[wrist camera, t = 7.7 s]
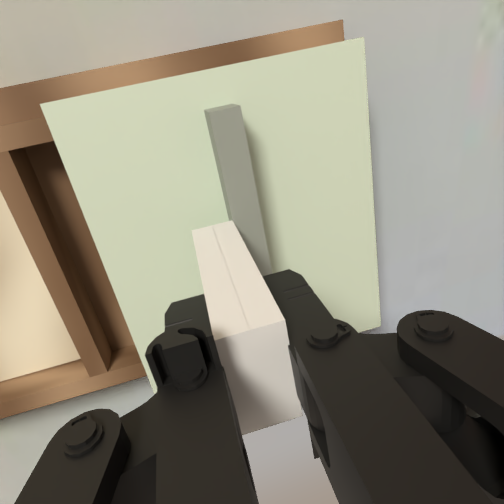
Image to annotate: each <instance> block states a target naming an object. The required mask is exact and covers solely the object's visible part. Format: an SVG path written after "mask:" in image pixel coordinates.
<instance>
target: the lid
mask: <svg viewBox="0 0 504 504" xmlns="http://www.w3.org/2000/svg"><path fill="white" fill-rule="evenodd" d="M40 106H41V109H42V111H43V114H44V116H45V119H46V121H47V124H48V126H49V129H50V131H51V134H52V136H53V139H54V141H55V144H56V147H57V149H58V152H59V154H60V157H61V159H62V162H63V164H64V167H65V169H66V172H67V174H68V177H69V179H70V182H71V184H72V187H73V189H74V192H75V194H76V197H77V200H78V202H79V205H80V207H81V210H82V212H83V215H84V217H85V220H86V222H87V225H88V227H89V230H90V232H91V235H92V237H93V240H94V242H95V245H96V248H97V250H98V253H99V255H100V258H101V260H102V263H103V265H104V268H105V270H106V273H107V275H108V278H109V280H110V283H111V285H112V288H113V290H114V293H115V295H116V298H117V301H118V303H119V306H120V308H121V311H122V313H123V316H124V318H125V321H126V323H127V326H128V328H129V331H130V333H131V336H132V338H133V341H134V343H135V346H136V348H137V351H138V354H139V356H140V359H141V361H142V364H143V366H144V369H145V371H146V374H147V376H148V379H149V381H150V384H151V386H152V389H153V391H154V394H156V392H157V385H156V383H155V380H154V378H153V375H152V373H151V370H150V367H149V365H148V362H147V360H146V357H145V353H146V350H147V347H148V345H149V344H150V343H151V342H152V341H153V340H154V339H155V338H156V337H157V336H159V335H160V334H162V333H163V332H165V317H164V314H165V313H166V311H167V309H168V308H169V306H170V304H171V303H172V302H176V301H179V300H183V299H187V298H190V297H194V296H198V295H201V294H204V290H203V285H202V280H201V275H200V270H199V265H198V261H197V256H196V251H195V246H194V241H193V236H192V231H191V230H195V229H199V228H203V227H207V226H211V225H215V224H219V223H223V222H227V221H231V220H232V221H233V222H234V224H235V226H236V228H237V230H238V232H239V234H240V235H241V237H242V239H243V241H244V243H245V245H246V247H247V249H248V251H249V252H250V254H251V256H252V258H253V260H254V262H255V264H256V266H257V268H258V270H259V271H260V273H261V275H262V276H266V275H269V274H273V273H277V272H280V271H284V270H288V269H290V270H292V271H294V272H296V273H299V274H301V275H302V276H303V277H304V279H305V280H306V282H307V283H308V285H309V286H310V287H311V288H312V290H313V291H314V293H315V294H316V295H317V296H318V298H319V299H320V300H321V302H322V303H323V304H324V306H325V307H326V308H327V310H328V311H329V312H330V314H331V315H332V317H333V318H334V319H338V320H341V321H344V322H347V323H348V324H350V325H351V326H352V327H353V328H354V329H355V330H356V331H357V332H358V333H359V332H363V331H366V330H369V329H373V328H376V327H379V326H381V318H380V301H379V284H378V267H377V250H376V233H375V216H374V199H373V182H372V164H371V147H370V130H369V113H368V96H367V79H366V62H365V45H364V37H361V38H356V39H351V40H346V41H341V42H337V43H332V44H327V45H322V46H317V47H313V48H308V49H303V50H298V51H293V52H288V53H284V54H279V55H274V56H269V57H264V58H259V59H255V60H250V61H245V62H240V63H235V64H230V65H226V66H221V67H216V68H211V69H206V70H201V71H197V72H192V73H187V74H182V75H177V76H173V77H168V78H163V79H158V80H153V81H148V82H144V83H139V84H134V85H129V86H124V87H119V88H115V89H110V90H105V91H100V92H95V93H90V94H86V95H81V96H76V97H71V98H66V99H62V100H57V101H52V102H47V103H42V104H40Z"/></svg>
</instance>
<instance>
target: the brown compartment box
mask: <svg viewBox="0 0 504 504" xmlns="http://www.w3.org/2000/svg"><path fill="white" fill-rule="evenodd" d="M341 41H344V30H343V20H338V21H333V22H328V23H323V24H318V25H313V26H308V27H304V28H299V29H294V30H289V31H284V32H279V33H274V34H269V35H264V36H259V37H254V38H249V39H244V40H239V41H234V42H229V43H224V44H219V45H214V46H209V47H204V48H199V49H194V50H189V51H184V52H179V53H174V54H169V55H164V56H159V57H154V58H149V59H144V60H139V61H134V62H129V63H124V64H119V65H114V66H109V67H104V68H99V69H94V70H89V71H84V72H79V73H74V74H69V75H64V76H59V77H54V78H49V79H44V80H39V81H34V82H29V83H24V84H19V85H14V86H9V87H4V88H0V419H2V418H5V417H8V416H12V415H15V414H19V413H22V412H25V411H29V410H32V409H36V408H39V407H42V406H46V405H49V404H53V403H56V402H59V401H63V400H66V399H70V398H73V397H76V396H80V395H83V394H86V393H90V392H93V391H97V390H100V389H103V388H107V387H110V386H114V385H117V384H120V383H124V382H127V381H131V380H134V379H137V378H141V377H144V376H147V374H146V371H145V369H144V366H143V364H142V361H141V359H140V356H139V354H138V351H137V348H136V346H135V343H134V341H133V338H132V336H131V333H130V331H129V328H128V326H127V323H126V321H125V318H124V316H123V313H122V311H121V308H120V306H119V303H118V301H117V298H116V295H115V293H114V290H113V288H112V285H111V283H110V280H109V278H108V275H107V273H106V270H105V268H104V265H103V263H102V260H101V258H100V255H99V253H98V250H97V248H96V245H95V242H94V240H93V237H92V235H91V232H90V230H89V227H88V225H87V222H86V220H85V217H84V215H83V212H82V210H81V207H80V205H79V202H78V200H77V197H76V194H75V192H74V189H73V187H72V184H71V182H70V179H69V177H68V174H67V172H66V169H65V167H64V164H63V162H62V159H61V157H60V154H59V152H58V149H57V147H56V144H55V141H54V139H53V136H52V134H51V131H50V129H49V126H48V124H47V121H46V119H45V116H44V114H43V111H42V109H41V106H40V104H42V103H47V102H52V101H57V100H62V99H66V98H71V97H76V96H81V95H86V94H90V93H95V92H100V91H105V90H110V89H115V88H119V87H124V86H129V85H134V84H139V83H144V82H148V81H153V80H158V79H163V78H168V77H173V76H177V75H182V74H187V73H192V72H197V71H201V70H206V69H211V68H216V67H221V66H226V65H230V64H235V63H240V62H245V61H250V60H255V59H259V58H264V57H269V56H274V55H279V54H284V53H288V52H293V51H298V50H303V49H308V48H313V47H317V46H322V45H327V44H332V43H337V42H341Z"/></svg>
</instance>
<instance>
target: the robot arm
mask: <svg viewBox="0 0 504 504" xmlns="http://www.w3.org/2000/svg"><path fill="white" fill-rule="evenodd" d="M191 231H192V236H193V241H194V246H195V251H196V256H197V261H198V265H199V270H200V275H201V280H202V285H203V290H204V294H201V295H198V296H194V297H190V298H187V299H183V300H179V301H176V302H172V303H171V304H170V306H169V308H168V309H167V311H166V313H165V314H164V317H165V332H163V333H162V334H160V335H159V336H157V337H156V338H155V339H154V340H153V341H152V342H151V343H150V344H149V345H148V347H147V350H146V353H145V357H146V360H147V362H148V365H149V367H150V370H151V373H152V375H153V378H154V380H155V383H156V385H157V392H156V394H155V395H154V396H153V397H152V398H150V399H149V400H148V401H147V402H146V403H144V404H143V405H141V406H140V407H138V408H136V409H135V410H133V411H131V412H129V413H128V414H126V415H124V416H122V417H120V418H119V416H118V414H117V413H115V412H113V411H112V410H110V409H95V410H92V411H88V412H84V413H83V414H81V415H79V416H77V417H75V418H73V419H71V420H70V421H69V422H68V423H66V424H65V425H64V426H63V427H62V428H60V429H59V430H58V431H57V433H56V434H55V435H54V437H53V438H52V439H51V441H50V442H49V443H48V445H47V447H46V449H45V451H44V452H43V454H42V456H41V458H40V459H39V461H38V463H37V465H36V466H35V468H34V470H33V472H32V473H31V475H30V477H29V479H28V481H27V482H26V484H25V486H24V488H23V489H22V491H21V493H20V495H19V496H18V498H17V500H16V502H15V503H14V504H259V503H258V499H257V495H256V491H255V486H254V482H253V477H252V473H251V469H250V464H249V460H248V456H247V452H246V449H245V445H244V442H243V439H242V435H244V434H247V433H251V432H254V431H257V430H260V429H263V428H266V427H269V426H273V425H276V424H279V423H282V422H285V421H288V420H291V419H295V418H297V417H301V416H303V414H302V409H301V405H302V407H303V410H304V412H305V414H306V416H307V419H308V425H309V431H310V436H311V442H312V447H313V453H314V458H315V459H316V458H319V457H320V459H321V462H322V464H323V466H324V468H325V471H326V474H327V476H328V478H329V480H330V483H331V485H332V488H333V490H334V493H335V495H336V497H337V500H338V502H339V504H504V340H502V339H500V338H498V337H496V336H494V335H492V334H490V333H488V332H486V331H484V330H482V329H480V328H478V327H476V326H474V325H473V324H471V323H469V322H467V321H465V320H463V319H461V318H459V317H457V316H454V315H452V314H449V313H446V312H442V311H434V310H424V311H416V312H413V313H410V314H407V315H406V316H405V317H403V318H402V319H401V320H400V321H399V323H398V326H397V333H387V334H361V333H358V332H357V331H356V330H355V329H354V328H353V327H352V326H351V325H350V324H348V323H347V322H344V321H341V320H338V319H334V318H333V317H332V315H331V314H330V312H329V311H328V310H327V308H326V307H325V306H324V304H323V303H322V302H321V300H320V299H319V298H318V296H317V295H316V294H315V293H314V291H313V290H312V288H311V287H310V286H309V285H308V283H307V282H306V280H305V279H304V277H303V276H302V275H301V274H299V273H296V272H294V271H292V270H290V269H288V270H284V271H280V272H277V273H273V274H269V275H266V276H262V275H261V273H260V271H259V270H258V268H257V266H256V264H255V262H254V260H253V258H252V256H251V254H250V252H249V251H248V249H247V247H246V245H245V243H244V241H243V239H242V237H241V235H240V234H239V232H238V230H237V228H236V226H235V224H234V222H233V221H232V220H231V221H227V222H223V223H219V224H215V225H211V226H207V227H203V228H199V229H195V230H191Z"/></svg>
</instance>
